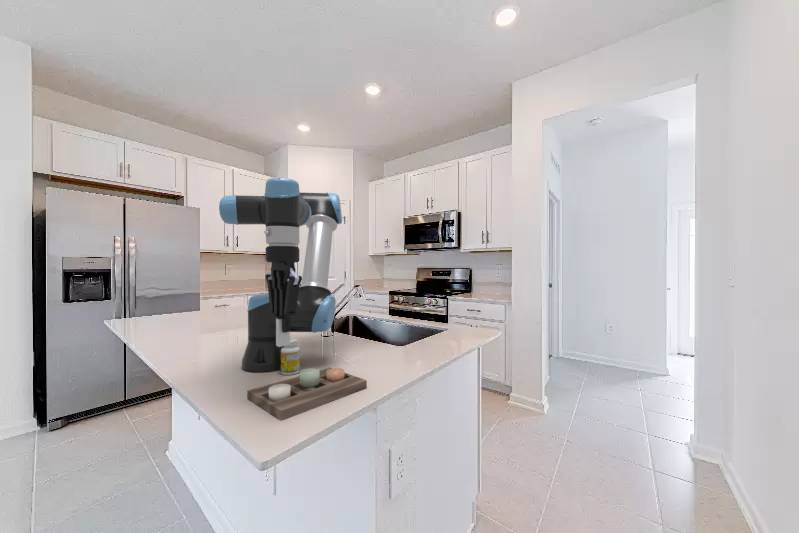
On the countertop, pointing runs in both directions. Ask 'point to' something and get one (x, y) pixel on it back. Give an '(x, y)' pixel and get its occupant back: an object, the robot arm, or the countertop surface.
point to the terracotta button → (335, 374)
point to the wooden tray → (305, 394)
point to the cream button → (279, 392)
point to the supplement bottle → (290, 358)
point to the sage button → (309, 377)
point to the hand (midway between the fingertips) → (283, 345)
